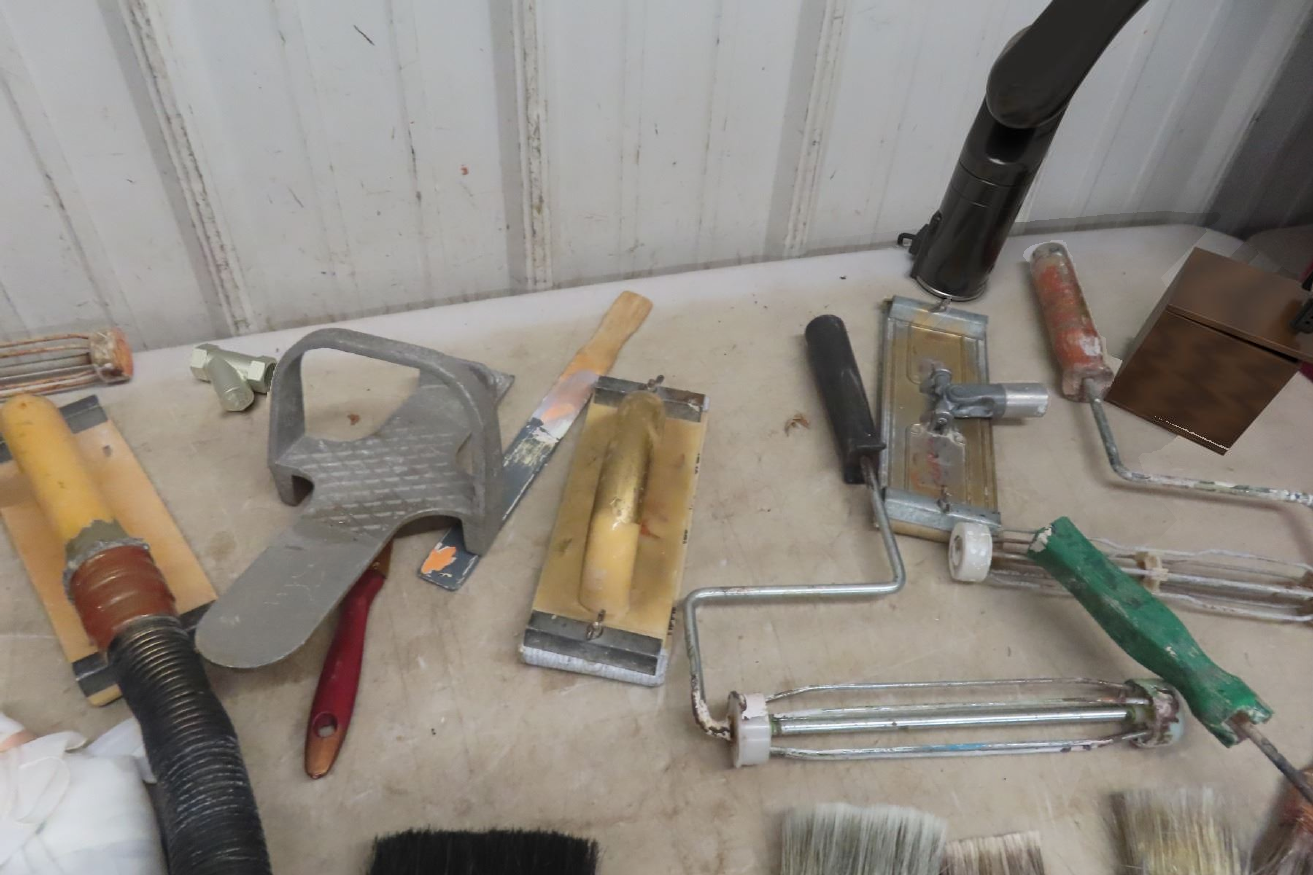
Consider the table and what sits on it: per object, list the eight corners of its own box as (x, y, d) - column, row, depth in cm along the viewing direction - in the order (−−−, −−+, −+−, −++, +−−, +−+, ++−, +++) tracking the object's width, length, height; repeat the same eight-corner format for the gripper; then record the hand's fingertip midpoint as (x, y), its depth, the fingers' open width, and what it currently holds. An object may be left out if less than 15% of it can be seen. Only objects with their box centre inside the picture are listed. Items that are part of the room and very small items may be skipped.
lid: (1330, 299, 97) (1363, 255, 93) (1314, 365, 89) (1349, 320, 85) (1191, 252, 102) (1216, 208, 98) (1164, 309, 94) (1190, 264, 90)
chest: (1244, 390, 108) (1317, 302, 98) (1223, 456, 100) (1300, 367, 90) (1132, 341, 113) (1191, 252, 102) (1103, 400, 105) (1164, 309, 94)
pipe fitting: (253, 423, 91) (283, 376, 95) (241, 399, 87) (273, 351, 92) (181, 407, 91) (214, 361, 95) (167, 382, 88) (202, 336, 92)
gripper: (1379, 131, 86) (1278, 264, 98) (1366, 189, 78) (1257, 327, 90) (1464, 159, 84) (1349, 292, 96) (1460, 222, 75) (1335, 360, 87)
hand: (1305, 309), depth 93 cm, fingers open, 8 cm apart
